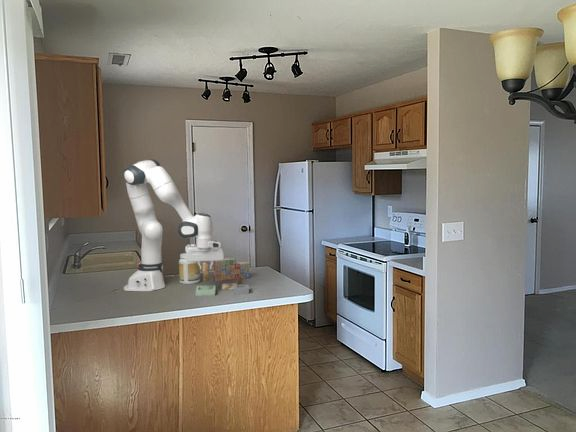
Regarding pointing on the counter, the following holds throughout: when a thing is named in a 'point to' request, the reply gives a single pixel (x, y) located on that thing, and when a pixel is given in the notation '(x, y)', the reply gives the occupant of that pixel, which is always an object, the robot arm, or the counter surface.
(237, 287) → the collar
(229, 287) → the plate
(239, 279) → the bench dog
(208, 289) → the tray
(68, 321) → the counter surface
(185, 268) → the supplement tub
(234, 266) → the stack of blocks
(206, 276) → the dowel
